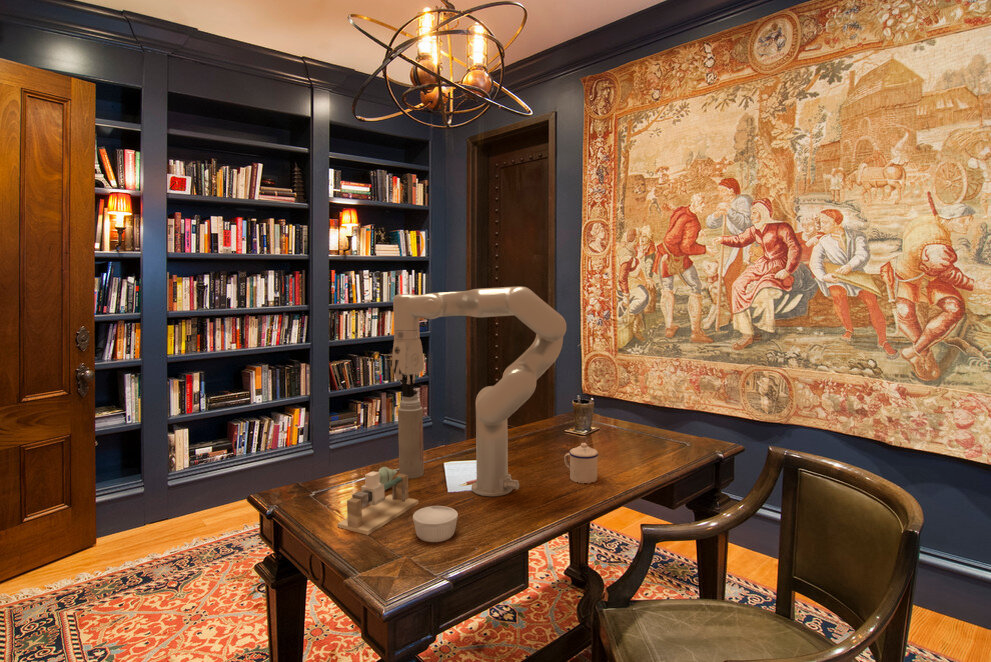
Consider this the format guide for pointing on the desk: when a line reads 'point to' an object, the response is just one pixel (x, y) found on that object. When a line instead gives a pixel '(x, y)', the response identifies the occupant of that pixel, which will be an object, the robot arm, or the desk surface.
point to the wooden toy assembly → (377, 507)
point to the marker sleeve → (374, 487)
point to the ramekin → (435, 523)
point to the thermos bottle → (410, 437)
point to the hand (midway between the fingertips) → (408, 396)
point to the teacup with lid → (582, 464)
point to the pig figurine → (386, 474)
